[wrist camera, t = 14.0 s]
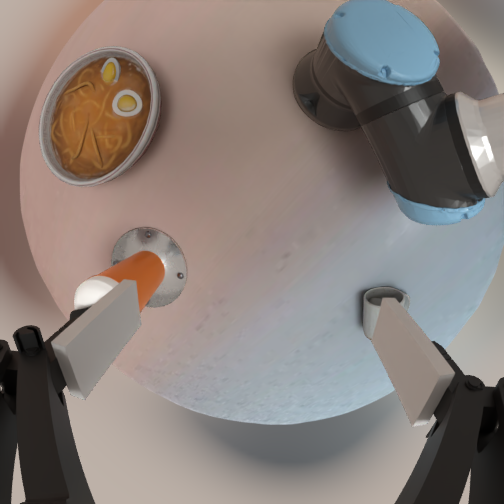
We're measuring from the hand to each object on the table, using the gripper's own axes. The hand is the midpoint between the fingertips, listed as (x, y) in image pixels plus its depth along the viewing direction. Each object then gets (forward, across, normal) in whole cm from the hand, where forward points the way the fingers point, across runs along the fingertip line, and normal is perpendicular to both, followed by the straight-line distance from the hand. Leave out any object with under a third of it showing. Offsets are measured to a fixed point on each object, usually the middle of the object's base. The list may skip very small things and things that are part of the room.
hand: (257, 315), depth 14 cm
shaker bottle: (+32, -21, -11) cm, 40 cm away
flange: (+33, -21, -11) cm, 40 cm away
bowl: (+33, -27, +16) cm, 46 cm away
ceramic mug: (+34, +23, -15) cm, 44 cm away
